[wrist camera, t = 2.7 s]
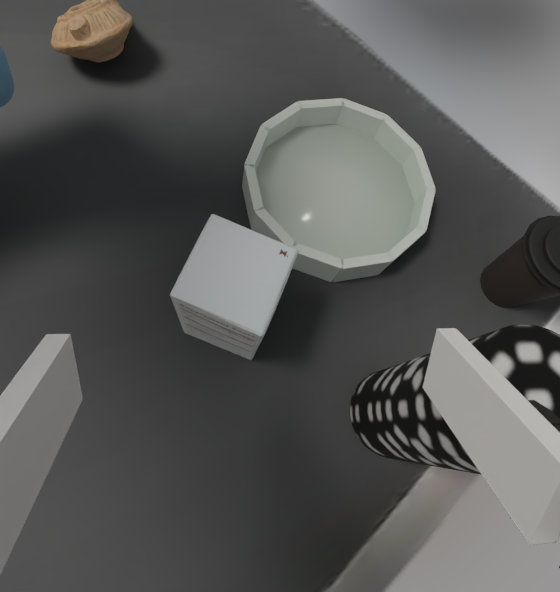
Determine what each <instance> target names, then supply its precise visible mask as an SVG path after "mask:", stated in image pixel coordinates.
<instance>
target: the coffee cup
mask: <svg viewBox="0 0 560 592" xmlns="http://www.w3.org/2000/svg"><path fill="white" fill-rule="evenodd" d="M480 281H481V288H482V290H483V292H484V294H485V295H486V297H487V298H488V299H489V300H490V301H491V302H493V303H494V304H495V305H498V306H500V307H506V308H510V307H515V306H519V305H523V304H527V303H531V302H535V301H540V300H544V299H548V298H552V297H556V296H560V216H546V217H543V218H539V219H537V220H536V221H534V222H533V223H532V224H531V225H530V226H529V227H528V229H527V231H526V233H525V235H524V236H523V237H522V238H521V239H520V240H518V241H517V242H516V243H515V244H514V245H512V246H511V247H510V248H509V249H508V250H506V251H505V252H504V253H503V254H502V255H500V256H499V257H498V258H497V259H496V260H494V261H493V262H492V263H491V264H490V265H488V266H487V267H486V268H485V269H484V271H483V272H482V274H481V280H480Z"/></svg>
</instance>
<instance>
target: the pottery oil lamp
mask: <svg viewBox="0 0 560 592" xmlns="http://www.w3.org/2000/svg"><path fill="white" fill-rule="evenodd" d="M57 21H58V22H57V24H56V25H55V27H54V29H53V32H52V40H51V45H52V47H53V48H54V49H55V50H56V51H58V52H61V53H64V54H66V55H69V56H72V57H76V58H80V59H85V60H91V61H94V62H98V63H100V62H104V61H108V60H110V59H113V58H115V57H116V56H118V55H119V54H120V53H121V52H122V51H123V48H124V42H125V40H126V38H127V35H128V33H129V30H130V28H131V26H132V24H133V18H132V16H131V15H130V14H128V13H127V12H125V11H124V10H123V9H122V8H121V6H120V4H119V3H118V2H117V1H116V0H87V1H85V2H83V3H81V4H80V5H75V6H73V7H71V8H70V9H69V10H68V12H66V13H65V14H64V15H62V16H59V17H58V18H57Z"/></svg>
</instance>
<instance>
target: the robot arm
mask: <svg viewBox="0 0 560 592" xmlns="http://www.w3.org/2000/svg"><path fill="white" fill-rule="evenodd" d="M13 92H14V82H13V77H12V74H11V71H10V68H9V65H8V62H7V60H6V57H5V54H4V52H3V49H2V47H1V44H0V107H1V106H4V105H5V104H6V103H8V102H9V100H10V99H11V98H12V95H13ZM422 388H423V389H424V391H425V392H426V393H427V395H428V396H429V398H430V399H431V401H432V402H433V404H434V405H435V407H436V408H437V410H438V411H439V413H440V414H441V416H442V417H443V419H444V420H445V421H446V423H447V424H448V426H449V427H450V429H451V430H452V432H453V433H454V435H455V436H456V438H457V439H458V441H459V442H460V444H461V445H462V447H463V448H464V449H465V451H466V452H467V454H468V455H469V457H470V458H471V460H472V461H473V463H474V464H475V466H476V467H477V469H478V470H479V472H480V473H481V475H482V476H483V477H484V479H485V480H486V482H487V483H488V485H489V486H490V488H491V489H492V491H493V492H494V494H495V495H496V496H497V498H498V500H499V501H500V503H501V504H502V505H503V507H504V508H505V510H506V511H507V513H508V514H509V515H510V517H511V519H512V520H513V522H514V523H515V525H516V526H517V528H518V529H519V531H520V532H521V534H522V535H523V536H524V538H525V539H526V541H527V542H528V544H529V545H536V544H546V543H556V541H557V539H558V537H559V535H560V418H558V417H557V416H556V415H555V414H554V413H553V412H552V411H551V410H550V409H548V408H546V407H545V406H543V405H541V404H540V403H538V402H537V401H535V400H527V399H526V398H525V397H524V396H523V395H522V394H521V393H520V392H519V391H518V390H517V389H516V388H515V387H514V386H513V385H512V384H511V383H510V382H509V381H508V380H507V379H506V378H505V377H504V376H503V375H502V374H501V373H500V372H499V371H498V370H497V369H496V368H495V367H494V366H493V365H492V364H491V363H490V362H489V361H488V360H487V359H486V358H485V357H484V356H483V355H482V354H481V353H480V352H479V351H478V350H477V349H476V348H475V347H474V346H473V345H472V344H471V343H470V342H469V341H468V340H467V339H466V338H465V337H464V336H463V335H462V334H461V333H460V332H459V331H458V330H457V329H456V328H442V329H437V330H436V334H435V339H434V343H433V347H432V351H431V355H430V359H429V363H428V367H427V371H426V375H425V379H424V383H423V387H422ZM82 400H83V398H82V392H81V387H80V382H79V376H78V371H77V366H76V360H75V355H74V350H73V344H72V339H71V334H46V335H45V337H44V338H43V339H42V341H41V342H40V343H39V345H38V346H37V347H36V349H35V350H34V351H33V353H32V354H31V355H30V357H29V358H28V359H27V361H26V362H25V363H24V365H23V366H22V367H21V369H20V370H19V371H18V373H17V374H16V376H15V377H14V378H13V380H12V381H11V382H10V384H9V385H8V386H7V388H6V389H5V390H4V392H3V393H2V394H1V396H0V575H1V573H2V570H3V568H4V566H5V564H6V562H7V560H8V558H9V555H10V553H11V551H12V549H13V547H14V545H15V543H16V540H17V538H18V536H19V534H20V532H21V530H22V528H23V526H24V523H25V521H26V519H27V517H28V515H29V513H30V511H31V508H32V506H33V504H34V502H35V500H36V498H37V496H38V494H39V491H40V489H41V487H42V485H43V483H44V481H45V479H46V476H47V474H48V472H49V470H50V468H51V466H52V464H53V461H54V459H55V457H56V455H57V453H58V451H59V449H60V447H61V444H62V442H63V440H64V438H65V436H66V434H67V432H68V429H69V427H70V425H71V423H72V421H73V419H74V417H75V414H76V412H77V410H78V408H79V406H80V404H81V402H82ZM559 568H560V567H559Z"/></svg>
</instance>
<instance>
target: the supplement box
mask: <svg viewBox="0 0 560 592" xmlns="http://www.w3.org/2000/svg"><path fill="white" fill-rule="evenodd" d="M298 253H299V250H298V249H296V248H294V247H291V246H289V245H286V244H284V243H281V242H279V241H276V240H274V239H271V238H269V237H267V236H264V235H262V234H260V233H257V232H255V231H253V230H250V229H248V228H246V227H243V226H241V225H238V224H236V223H234V222H231V221H229V220H227V219H224V218H222V217H220V216H217V215H214V214H211V216H210V217H209V219H208V221H207V223H206V225H205V227H204V228H203V230H202V232H201V234H200V236H199V238H198V240H197V242H196V244H195V246H194V248H193V250H192V252H191V253H190V255H189V257H188V259H187V261H186V263H185V265H184V267H183V269H182V271H181V273H180V275H179V277H178V279H177V281H176V283H175V285H174V287H173V289H172V291H171V293H170V297H171V299H172V302H173V304H174V307H175V310H176V313H177V315H178V318H179V320H180V323H181V326H182V328H183V331H184V333H186V334H189V335H191V336H193V337H196V338H198V339H201V340H203V341H206V342H208V343H210V344H213V345H215V346H217V347H220V348H222V349H225V350H227V351H229V352H232V353H234V354H237V355H239V356H241V357H244V358H246V359H249V360H252V359H253V357H254V355H255V353H256V351H257V349H258V347H259V345H260V343H261V341H262V339H263V337H264V335H265V333H266V331H267V328H268V326H269V324H270V322H271V319H272V317H273V315H274V312H275V310H276V308H277V305H278V303H279V300H280V298H281V295H282V293H283V290H284V288H285V285H286V283H287V280H288V278H289V275H290V272H291V270H292V267H293V265H294V262H295V260H296V257H297V255H298Z"/></svg>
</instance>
